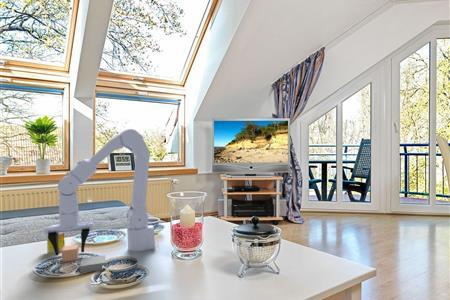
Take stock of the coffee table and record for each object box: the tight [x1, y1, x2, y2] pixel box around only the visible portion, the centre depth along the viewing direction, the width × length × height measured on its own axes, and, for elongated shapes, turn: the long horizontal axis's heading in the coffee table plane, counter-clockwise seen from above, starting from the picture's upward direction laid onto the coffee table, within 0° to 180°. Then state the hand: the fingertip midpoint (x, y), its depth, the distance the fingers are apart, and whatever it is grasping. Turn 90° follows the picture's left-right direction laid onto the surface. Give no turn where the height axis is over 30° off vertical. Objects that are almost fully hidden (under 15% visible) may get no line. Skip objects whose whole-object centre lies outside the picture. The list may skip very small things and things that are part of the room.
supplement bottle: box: [46, 224, 66, 254], centre depth 114 cm, size 6×6×10 cm
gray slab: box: [79, 254, 107, 274], centre depth 98 cm, size 7×7×2 cm
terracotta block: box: [61, 244, 80, 263], centre depth 106 cm, size 4×4×5 cm
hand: (70, 253), depth 106 cm, fingers open, 7 cm apart
